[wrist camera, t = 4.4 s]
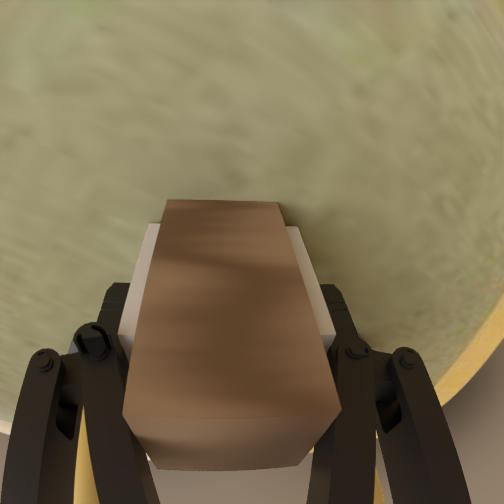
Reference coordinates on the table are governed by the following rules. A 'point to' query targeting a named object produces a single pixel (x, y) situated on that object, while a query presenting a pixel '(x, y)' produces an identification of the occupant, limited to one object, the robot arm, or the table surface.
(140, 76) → the table surface
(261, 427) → the block
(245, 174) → the table surface
